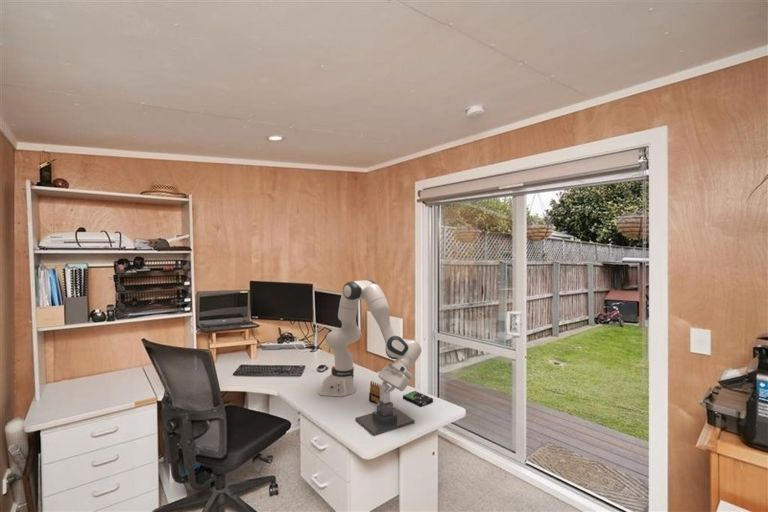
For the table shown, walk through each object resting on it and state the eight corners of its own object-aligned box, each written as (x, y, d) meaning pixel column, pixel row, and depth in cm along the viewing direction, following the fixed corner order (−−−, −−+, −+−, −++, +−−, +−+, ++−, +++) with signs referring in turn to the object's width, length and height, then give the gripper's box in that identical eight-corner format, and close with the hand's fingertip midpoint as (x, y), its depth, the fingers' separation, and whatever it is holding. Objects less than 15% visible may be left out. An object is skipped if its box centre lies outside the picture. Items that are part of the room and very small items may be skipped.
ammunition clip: (368, 401, 215) (369, 380, 214) (371, 400, 216) (371, 379, 215) (382, 406, 207) (382, 385, 207) (384, 405, 209) (384, 384, 208)
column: (383, 416, 187) (383, 387, 186) (379, 413, 190) (379, 385, 190) (389, 414, 189) (390, 386, 188) (385, 411, 192) (386, 383, 192)
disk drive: (433, 403, 214) (414, 394, 225) (433, 398, 214) (414, 390, 225) (421, 408, 207) (402, 399, 218) (421, 403, 207) (402, 394, 218)
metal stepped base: (373, 436, 176) (373, 414, 175) (355, 420, 191) (355, 401, 190) (414, 423, 188) (414, 403, 188) (394, 409, 204) (394, 391, 203)
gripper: (385, 359, 201) (369, 381, 196) (408, 371, 184) (391, 394, 179) (392, 366, 204) (376, 387, 199) (415, 378, 186) (398, 402, 182)
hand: (383, 391), depth 189 cm, fingers closed on column, 4 cm apart
